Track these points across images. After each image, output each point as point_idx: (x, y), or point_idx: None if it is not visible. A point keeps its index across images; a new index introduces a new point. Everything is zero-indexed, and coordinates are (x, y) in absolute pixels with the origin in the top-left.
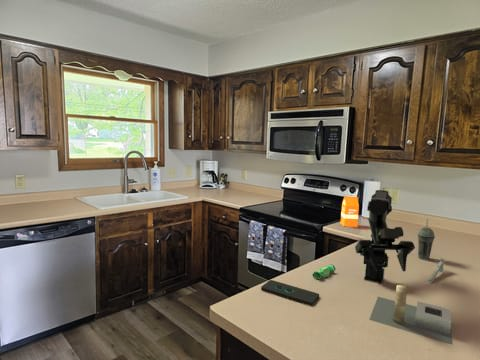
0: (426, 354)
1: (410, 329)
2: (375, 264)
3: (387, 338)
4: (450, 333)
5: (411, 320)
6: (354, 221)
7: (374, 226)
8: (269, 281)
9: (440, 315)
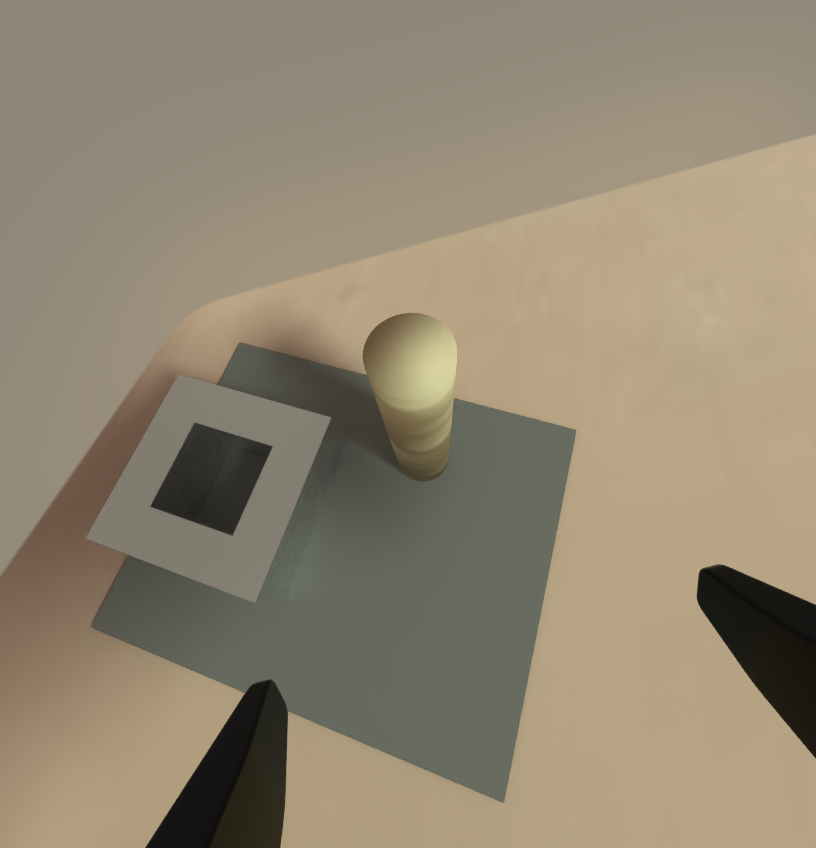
0: (369, 262)
1: None
2: (811, 613)
3: (499, 310)
4: None
5: (348, 489)
6: None
7: None
8: None
9: (174, 513)
